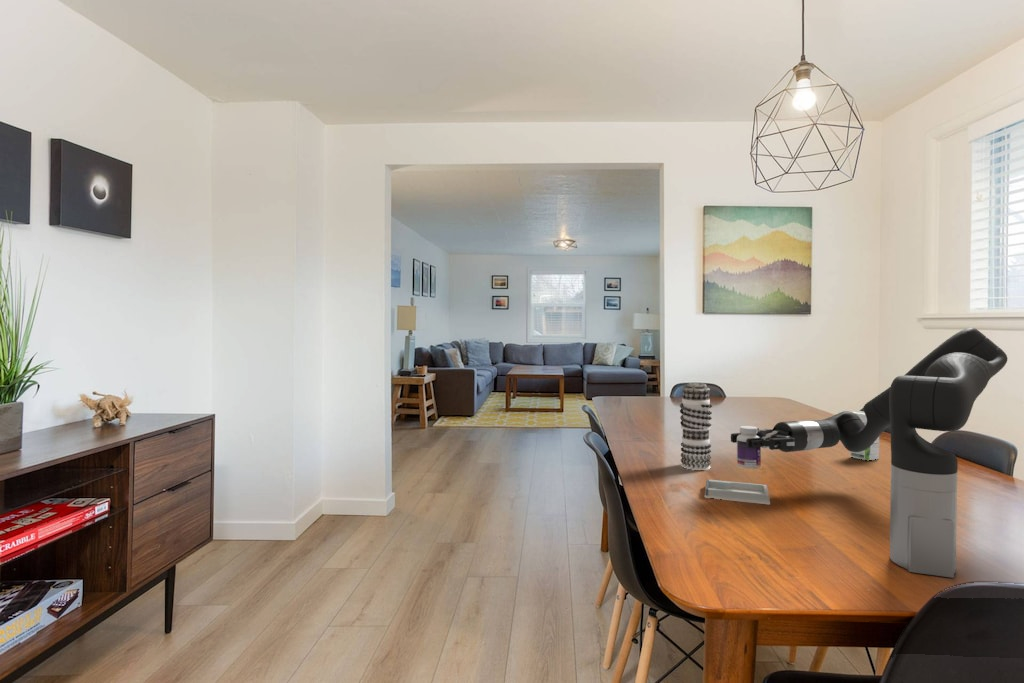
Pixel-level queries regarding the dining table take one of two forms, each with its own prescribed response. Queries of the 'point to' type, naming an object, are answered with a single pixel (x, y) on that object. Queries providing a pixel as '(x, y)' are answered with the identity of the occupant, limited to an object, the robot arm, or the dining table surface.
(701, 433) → the decorative candle
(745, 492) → the white rimmed tray
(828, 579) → the dining table surface
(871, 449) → the syrup box
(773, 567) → the dining table surface
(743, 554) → the dining table surface
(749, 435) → the pill bottle
